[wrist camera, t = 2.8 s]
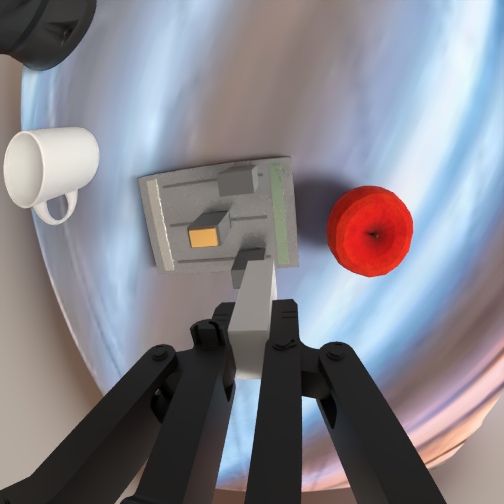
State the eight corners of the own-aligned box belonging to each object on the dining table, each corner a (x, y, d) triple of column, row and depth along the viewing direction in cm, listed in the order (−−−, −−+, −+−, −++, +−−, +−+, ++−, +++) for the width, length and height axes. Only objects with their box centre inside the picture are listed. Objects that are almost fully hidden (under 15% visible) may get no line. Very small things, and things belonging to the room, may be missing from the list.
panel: (145, 176, 31) (137, 178, 29) (290, 156, 29) (291, 157, 27) (164, 267, 35) (158, 274, 33) (298, 259, 33) (298, 267, 31)
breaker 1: (227, 168, 28) (216, 174, 23) (256, 165, 27) (251, 170, 23) (229, 187, 28) (219, 196, 24) (258, 184, 28) (254, 193, 23)
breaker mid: (201, 214, 30) (185, 229, 25) (228, 211, 29) (217, 226, 24) (204, 231, 31) (189, 249, 26) (230, 229, 30) (220, 247, 25)
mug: (64, 213, 34) (14, 238, 24) (56, 133, 29) (1, 141, 20) (107, 209, 33) (55, 237, 23) (100, 120, 29) (41, 121, 19)
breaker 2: (238, 250, 31) (230, 270, 26) (265, 248, 31) (262, 268, 26) (240, 267, 32) (233, 289, 27) (267, 265, 31) (264, 287, 27)
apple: (401, 231, 30) (430, 256, 23) (340, 265, 33) (354, 299, 26) (371, 164, 28) (398, 172, 21) (305, 201, 30) (312, 221, 23)
